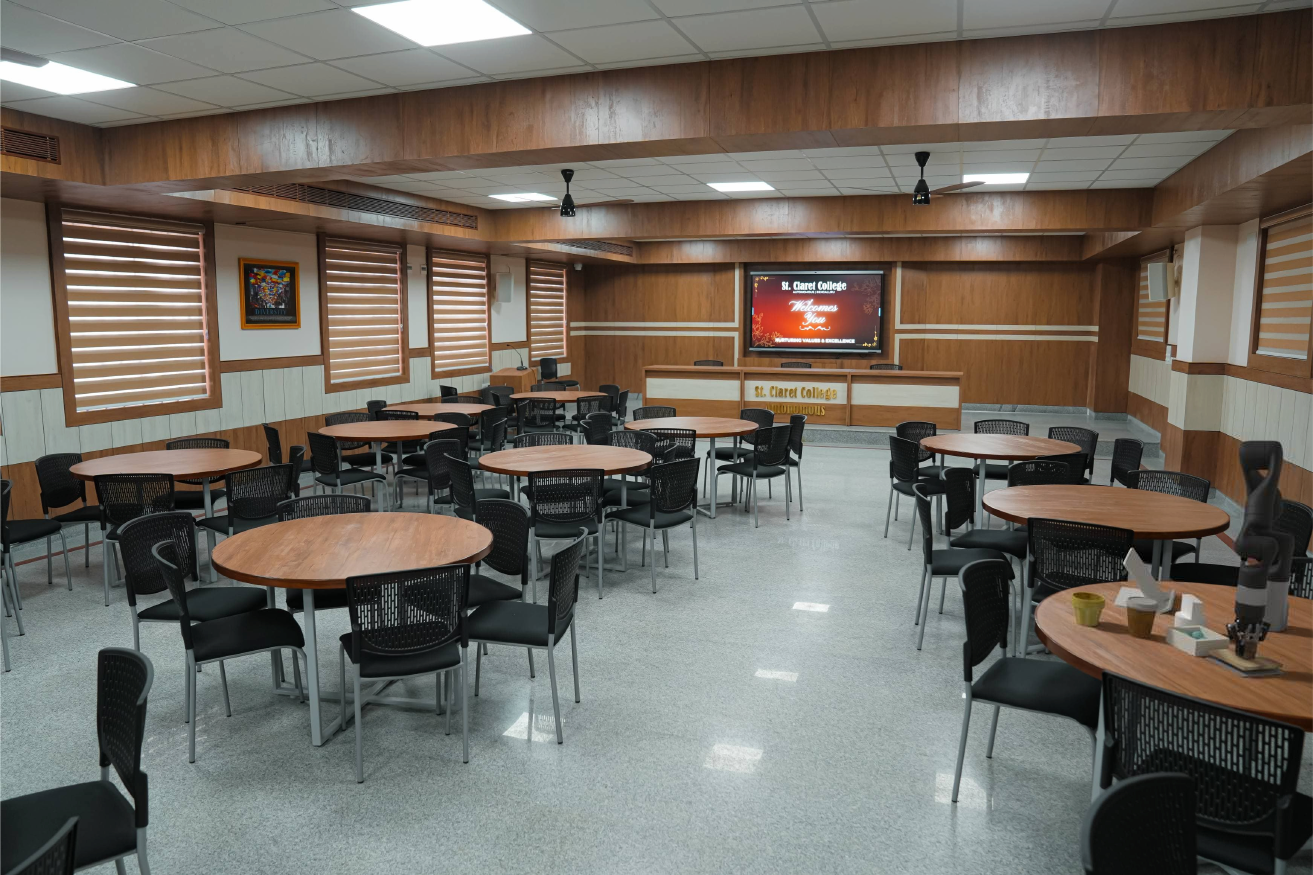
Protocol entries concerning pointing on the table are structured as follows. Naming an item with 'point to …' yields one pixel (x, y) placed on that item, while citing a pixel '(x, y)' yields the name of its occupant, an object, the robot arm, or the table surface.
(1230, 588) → the table surface
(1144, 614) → the disposable coffee cup
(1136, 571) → the tablet stand
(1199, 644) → the box
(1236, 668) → the mat
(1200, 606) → the white knob
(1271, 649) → the table surface
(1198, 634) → the ball
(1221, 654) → the lid
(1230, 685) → the table surface
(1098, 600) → the plant pot
